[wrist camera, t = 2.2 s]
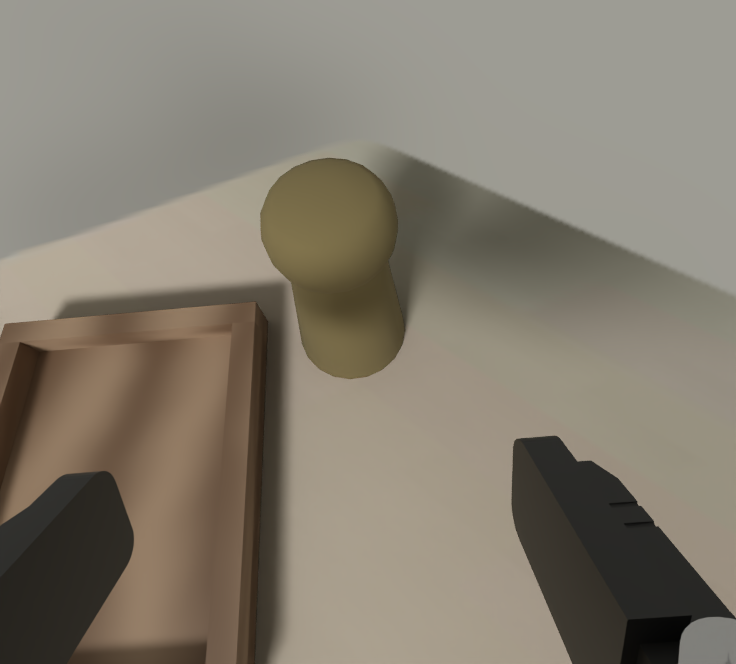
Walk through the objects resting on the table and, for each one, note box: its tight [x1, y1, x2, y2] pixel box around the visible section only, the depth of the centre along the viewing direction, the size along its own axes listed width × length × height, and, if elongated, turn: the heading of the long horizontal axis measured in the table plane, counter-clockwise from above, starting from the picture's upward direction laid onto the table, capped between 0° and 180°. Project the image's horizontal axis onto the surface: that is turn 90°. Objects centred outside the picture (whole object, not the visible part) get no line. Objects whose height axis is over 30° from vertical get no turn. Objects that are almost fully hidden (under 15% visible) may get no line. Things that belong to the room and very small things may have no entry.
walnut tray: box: [0, 302, 268, 664], centre depth 20 cm, size 14×18×2 cm
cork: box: [260, 158, 405, 379], centre depth 20 cm, size 6×6×11 cm
